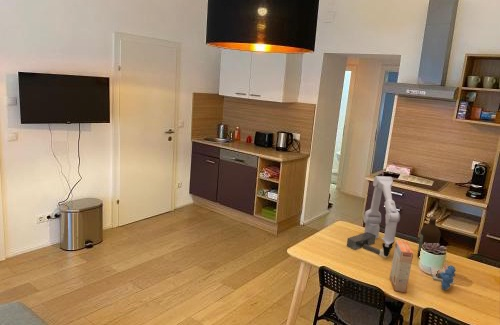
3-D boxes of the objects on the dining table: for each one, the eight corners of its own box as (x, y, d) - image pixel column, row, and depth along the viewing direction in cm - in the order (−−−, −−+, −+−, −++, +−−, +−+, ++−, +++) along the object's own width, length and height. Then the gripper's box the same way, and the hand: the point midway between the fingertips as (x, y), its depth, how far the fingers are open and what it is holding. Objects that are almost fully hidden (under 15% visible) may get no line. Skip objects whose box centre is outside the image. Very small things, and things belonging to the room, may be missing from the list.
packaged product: (430, 258, 213) (450, 262, 209) (429, 266, 214) (448, 270, 210) (434, 272, 196) (455, 276, 193) (432, 280, 197) (454, 285, 194)
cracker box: (407, 293, 182) (414, 252, 177) (393, 291, 183) (400, 250, 179) (401, 279, 195) (408, 241, 191) (389, 277, 196) (395, 239, 192)
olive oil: (434, 256, 226) (442, 216, 220) (436, 263, 216) (444, 222, 211) (415, 252, 229) (422, 213, 224) (416, 259, 219) (423, 218, 214)
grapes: (441, 281, 196) (445, 259, 194) (455, 286, 191) (460, 264, 189) (432, 288, 188) (437, 266, 186) (447, 294, 183) (451, 271, 181)
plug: (365, 247, 232) (366, 241, 231) (388, 256, 221) (389, 250, 221) (362, 248, 229) (362, 243, 228) (385, 257, 219) (386, 252, 218)
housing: (366, 239, 243) (367, 232, 242) (374, 243, 238) (375, 235, 237) (346, 246, 231) (347, 238, 229) (354, 250, 226) (355, 241, 225)
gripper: (384, 226, 226) (381, 247, 228) (380, 234, 213) (377, 256, 216) (397, 229, 222) (393, 251, 225) (394, 237, 210) (390, 260, 213)
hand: (386, 254), depth 220 cm, fingers closed on plug, 5 cm apart
